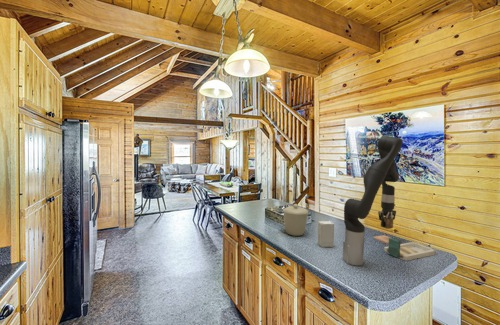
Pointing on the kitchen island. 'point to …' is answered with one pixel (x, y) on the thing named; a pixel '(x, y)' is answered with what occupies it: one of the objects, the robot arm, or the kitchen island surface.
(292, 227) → the canister
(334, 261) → the kitchen island surface
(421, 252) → the cream tray
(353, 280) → the kitchen island surface
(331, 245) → the skincare box
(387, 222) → the block
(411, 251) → the l-shaped stand
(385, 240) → the plate
